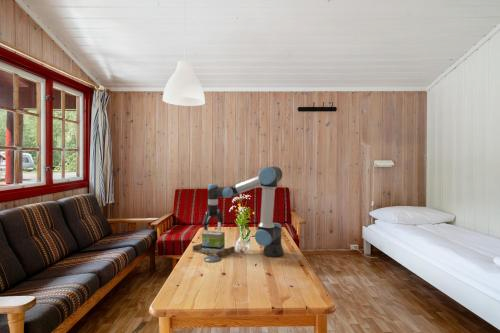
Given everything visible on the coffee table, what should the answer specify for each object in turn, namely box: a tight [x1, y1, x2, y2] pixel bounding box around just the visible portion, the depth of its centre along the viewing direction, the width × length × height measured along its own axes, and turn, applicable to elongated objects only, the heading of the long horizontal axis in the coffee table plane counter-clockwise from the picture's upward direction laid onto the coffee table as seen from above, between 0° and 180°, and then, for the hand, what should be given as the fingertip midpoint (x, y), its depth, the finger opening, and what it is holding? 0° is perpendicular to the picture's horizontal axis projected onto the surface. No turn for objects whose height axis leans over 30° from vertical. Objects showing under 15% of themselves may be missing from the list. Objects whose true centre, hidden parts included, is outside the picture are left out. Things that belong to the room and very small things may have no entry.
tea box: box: [201, 230, 226, 254], centre depth 236 cm, size 15×10×15 cm
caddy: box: [192, 242, 236, 258], centre depth 236 cm, size 18×27×4 cm, turn 51°
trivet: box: [203, 255, 222, 263], centre depth 217 cm, size 12×12×1 cm
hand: (213, 232), depth 236 cm, fingers open, 13 cm apart
